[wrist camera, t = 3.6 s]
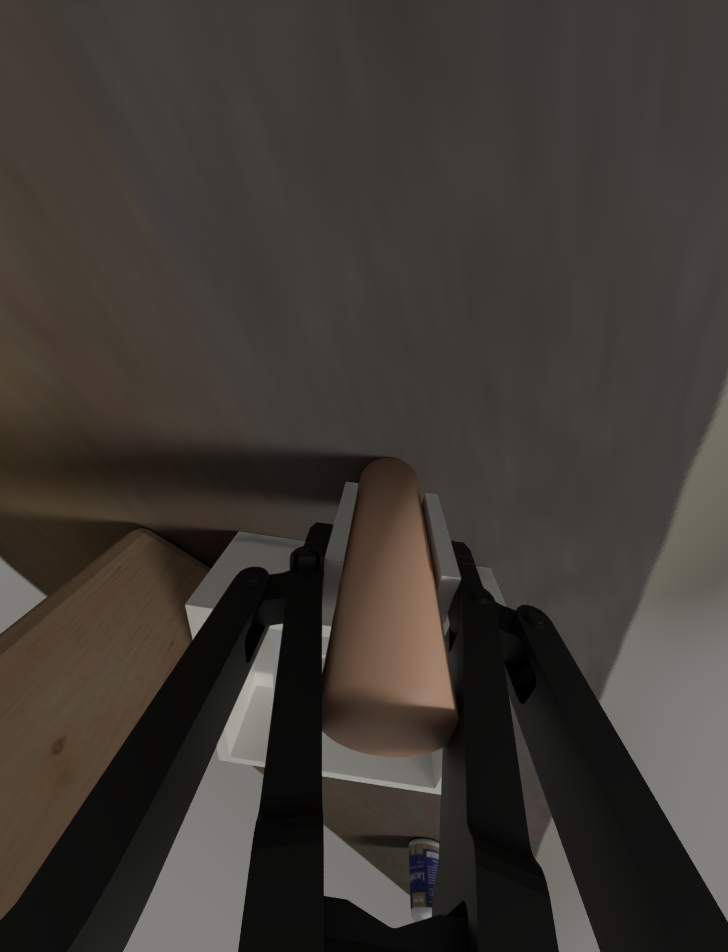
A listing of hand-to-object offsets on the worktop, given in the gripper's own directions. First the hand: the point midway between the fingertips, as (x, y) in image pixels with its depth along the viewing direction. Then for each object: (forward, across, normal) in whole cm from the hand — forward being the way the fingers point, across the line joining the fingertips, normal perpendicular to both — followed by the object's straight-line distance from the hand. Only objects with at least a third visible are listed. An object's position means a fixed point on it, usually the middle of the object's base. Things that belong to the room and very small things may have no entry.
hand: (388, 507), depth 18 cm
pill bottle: (+3, +17, -68) cm, 70 cm away
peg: (+3, 0, 0) cm, 3 cm away
